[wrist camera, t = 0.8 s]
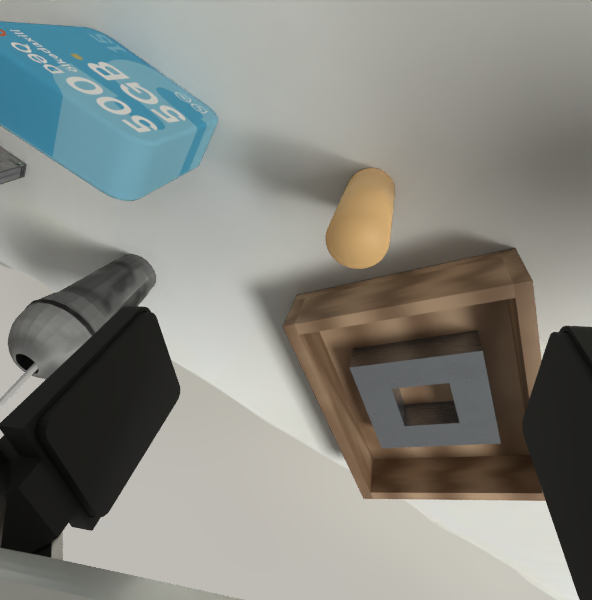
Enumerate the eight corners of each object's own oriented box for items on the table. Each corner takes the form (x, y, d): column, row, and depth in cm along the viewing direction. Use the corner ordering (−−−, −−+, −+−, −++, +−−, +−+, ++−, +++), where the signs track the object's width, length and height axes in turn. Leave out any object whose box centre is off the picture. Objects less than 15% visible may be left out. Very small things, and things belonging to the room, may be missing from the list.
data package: (225, 117, 32) (144, 147, 22) (205, 163, 35) (124, 208, 25) (97, 26, 31) (-50, 15, 21) (85, 81, 33) (-50, 95, 23)
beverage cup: (113, 230, 41) (-83, 350, 25) (174, 263, 41) (21, 403, 25) (104, 280, 45) (-68, 411, 29) (159, 310, 46) (21, 455, 29)
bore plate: (477, 330, 36) (482, 350, 33) (495, 419, 41) (500, 443, 38) (353, 348, 40) (349, 367, 38) (383, 426, 45) (381, 448, 43)
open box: (515, 248, 32) (532, 280, 27) (541, 453, 43) (557, 500, 39) (296, 295, 40) (282, 326, 35) (367, 459, 51) (363, 498, 46)
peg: (387, 160, 31) (380, 201, 23) (400, 207, 32) (397, 261, 24) (340, 176, 32) (316, 219, 24) (354, 220, 34) (337, 274, 26)
